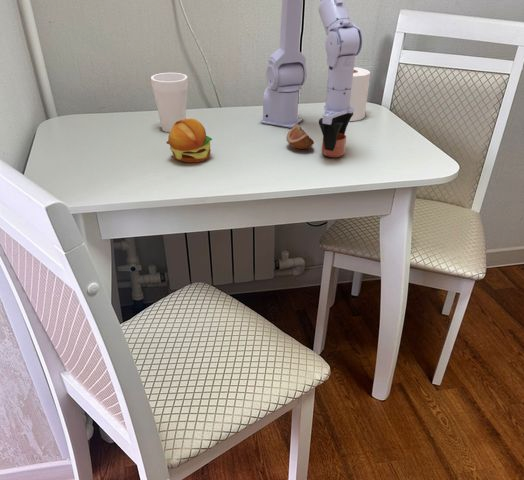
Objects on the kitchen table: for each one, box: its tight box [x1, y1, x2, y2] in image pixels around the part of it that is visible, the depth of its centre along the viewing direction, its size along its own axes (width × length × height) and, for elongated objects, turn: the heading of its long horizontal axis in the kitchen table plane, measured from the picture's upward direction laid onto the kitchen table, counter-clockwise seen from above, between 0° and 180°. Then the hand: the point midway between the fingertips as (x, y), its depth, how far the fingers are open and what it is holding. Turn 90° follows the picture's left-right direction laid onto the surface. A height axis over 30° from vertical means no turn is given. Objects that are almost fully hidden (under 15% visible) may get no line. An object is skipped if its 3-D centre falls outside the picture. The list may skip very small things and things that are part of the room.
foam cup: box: [150, 72, 189, 133], centre depth 146 cm, size 10×9×13 cm
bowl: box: [321, 133, 347, 158], centre depth 135 cm, size 6×6×4 cm
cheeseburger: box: [165, 118, 213, 163], centre depth 131 cm, size 10×11×10 cm
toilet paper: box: [349, 66, 371, 122], centre depth 157 cm, size 10×10×12 cm
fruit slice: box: [286, 123, 315, 150], centre depth 138 cm, size 8×7×5 cm
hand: (333, 145), depth 135 cm, fingers closed on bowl, 5 cm apart
